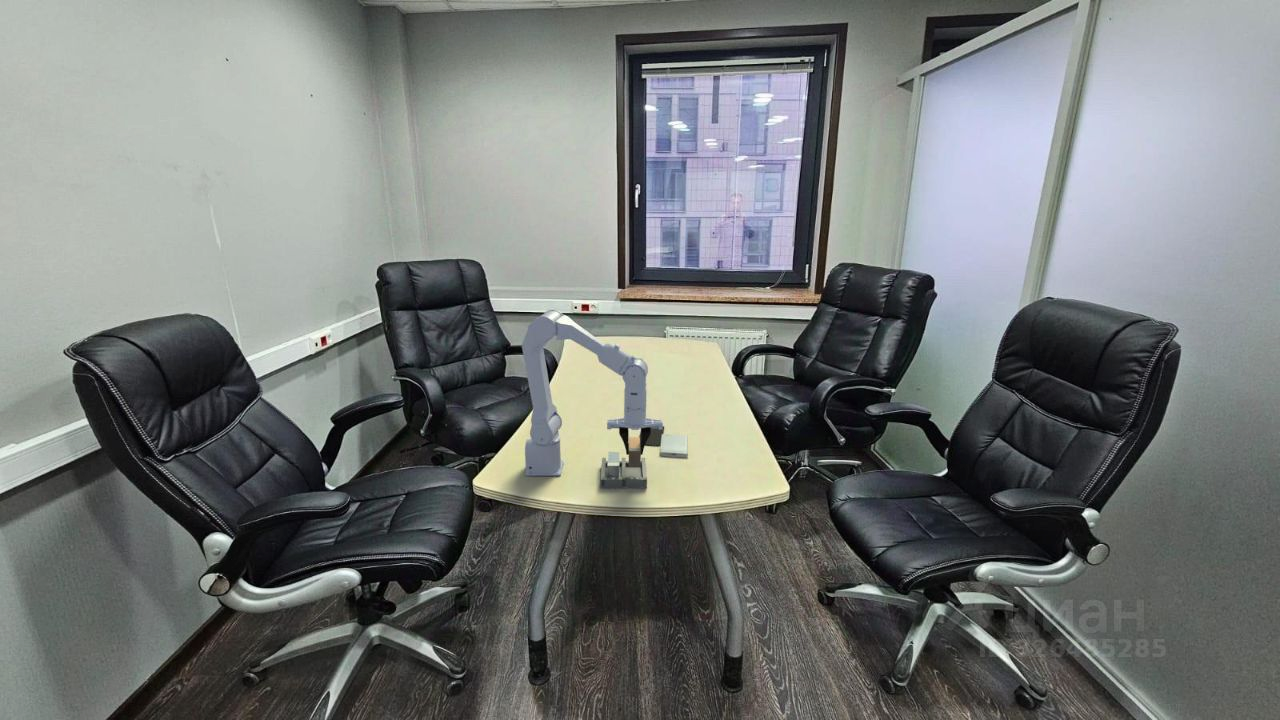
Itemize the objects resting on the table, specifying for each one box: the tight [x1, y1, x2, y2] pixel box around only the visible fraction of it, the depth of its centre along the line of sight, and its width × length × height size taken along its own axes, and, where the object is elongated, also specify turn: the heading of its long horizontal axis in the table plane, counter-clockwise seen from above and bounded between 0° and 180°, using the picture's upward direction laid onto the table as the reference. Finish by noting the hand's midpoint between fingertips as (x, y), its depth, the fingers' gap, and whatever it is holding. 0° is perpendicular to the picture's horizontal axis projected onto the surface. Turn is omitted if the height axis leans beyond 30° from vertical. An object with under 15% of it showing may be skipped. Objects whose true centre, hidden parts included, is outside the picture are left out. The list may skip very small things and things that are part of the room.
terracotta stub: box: [628, 436, 642, 467], centre depth 140 cm, size 3×8×5 cm, turn 2°
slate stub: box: [607, 451, 620, 478], centre depth 141 cm, size 3×8×5 cm, turn 2°
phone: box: [638, 425, 665, 447], centre depth 167 cm, size 7×1×15 cm
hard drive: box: [659, 433, 689, 458], centre depth 159 cm, size 2×8×12 cm
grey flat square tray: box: [600, 457, 648, 489], centre depth 141 cm, size 12×12×3 cm
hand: (634, 453), depth 140 cm, fingers closed on terracotta stub, 3 cm apart
